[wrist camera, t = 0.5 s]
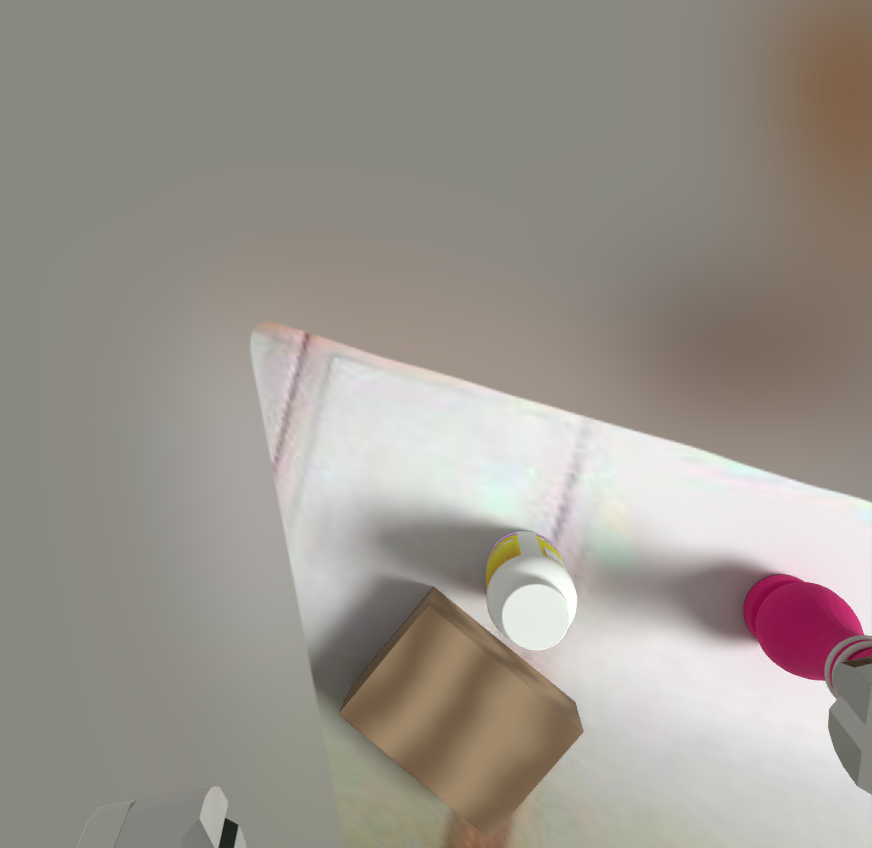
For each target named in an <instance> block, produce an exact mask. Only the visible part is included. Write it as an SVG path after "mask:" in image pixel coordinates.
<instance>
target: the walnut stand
mask: <svg viewBox="0 0 872 848" xmlns="http://www.w3.org/2000/svg"><path fill="white" fill-rule="evenodd" d="M339 715H340V716H341V717H342V718H344V719H345V720H346V721H347V722H348V723H350V724H351V725H352V726H353V727H354V728H356V729H357V730H358V731H359V732H360V733H362V734H363V735H364V736H365V737H366V738H368V739H369V740H370V741H371V742H372V743H374V744H375V745H376V746H377V747H379V748H380V749H381V750H382V751H383V752H385V753H386V754H387V755H388V756H389V757H391V758H392V759H393V760H394V761H395V762H397V763H398V764H399V765H400V766H401V767H403V768H404V769H405V770H406V771H407V772H409V773H410V774H411V775H412V776H413V777H415V778H416V779H417V780H418V781H420V782H421V783H422V784H423V785H424V786H426V787H427V788H428V789H429V790H430V791H432V792H433V793H434V794H435V795H436V796H438V797H439V798H440V799H441V800H442V801H444V802H445V803H446V804H447V805H448V806H450V807H451V808H452V809H453V810H454V811H456V812H457V813H458V814H459V815H461V816H462V817H463V818H464V819H465V820H467V821H468V822H469V823H470V824H471V825H473V826H474V827H475V828H476V829H477V830H479V831H480V832H481V833H482V834H483V835H485V836H486V837H487V838H488V839H489V840H490V838H491V837H492V836H493V835H494V834H495V833H496V832H497V830H498V829H499V828H500V827H501V826H502V825H503V823H504V822H505V821H506V820H507V819H508V818H509V817H510V815H511V814H512V813H513V812H514V811H515V810H516V809H517V807H518V806H519V805H520V804H521V803H522V802H523V801H524V799H525V798H526V797H527V796H528V795H529V794H530V793H531V791H532V790H533V789H534V788H535V787H536V786H537V785H538V783H539V782H540V781H541V780H542V779H543V778H544V777H545V775H546V774H547V773H548V772H549V771H550V770H551V769H552V767H553V766H554V765H555V764H556V763H557V762H558V760H559V759H560V758H561V757H562V756H563V755H564V754H565V752H566V751H567V750H568V749H569V748H570V747H571V746H572V744H573V743H574V742H575V741H576V740H577V739H578V738H579V736H580V735H581V734H582V733H583V728H582V724H581V721H580V717H579V714H578V710H577V707H576V703H575V702H574V701H573V700H572V699H571V698H570V697H568V696H567V695H566V694H565V693H563V692H562V691H561V690H560V689H559V688H557V687H556V686H555V685H554V684H552V683H551V682H550V681H549V680H547V679H546V678H545V677H544V676H543V675H541V674H540V673H539V672H538V671H536V670H535V669H534V668H533V667H532V666H530V665H529V664H528V663H527V662H525V661H524V660H523V659H522V658H521V657H519V656H518V655H517V654H516V653H514V652H513V651H512V650H511V649H510V648H508V647H507V646H506V645H505V644H503V643H502V642H501V641H500V640H498V639H497V638H496V637H495V636H494V635H492V634H491V633H490V632H489V631H487V630H486V629H485V628H484V627H483V626H481V625H480V624H479V623H478V622H476V621H475V620H474V619H473V618H472V617H470V616H469V615H468V614H467V613H465V612H464V611H463V610H462V609H460V608H459V607H458V606H457V605H456V604H454V603H453V602H452V601H451V600H449V599H448V598H447V597H446V596H445V595H443V594H442V593H441V592H440V591H438V590H437V589H436V588H435V587H433V588H432V589H431V591H430V592H429V593H428V594H427V596H426V597H425V598H424V599H423V600H422V602H421V603H420V604H419V605H418V606H417V608H416V609H415V610H414V611H413V613H412V614H411V615H410V616H409V617H408V619H407V620H406V621H405V622H404V623H403V625H402V626H401V627H400V628H399V630H398V631H397V632H396V633H395V634H394V636H393V637H392V638H391V639H390V640H389V642H388V643H387V644H386V645H385V647H384V648H383V649H382V650H381V651H380V653H379V654H378V655H377V656H376V657H375V659H374V660H373V661H372V662H371V664H370V665H369V666H368V667H367V668H366V670H365V671H364V672H363V673H362V674H361V676H360V677H359V678H358V679H357V681H356V682H355V683H354V684H353V685H352V687H351V688H350V691H349V693H348V695H347V697H346V699H345V701H344V703H343V706H342V708H341V710H340V712H339Z"/></svg>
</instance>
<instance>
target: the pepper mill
mask: <svg viewBox="0 0 872 848" xmlns="http://www.w3.org/2000/svg"><path fill="white" fill-rule="evenodd" d="M744 619H745V622H746V624H747V627H748V629H749V630H750V632H751V633H752V634H753V635H754V636H755V637H756V638H757V639H758V641H759V643H760V645H761V647H762V649H763V651H764V652H765V654H766V655H767V656H768V657H769V658H770V659H771V660H772V661H773V662H774V663H776V664H777V665H778V666H780V667H781V668H783V669H784V670H786V671H787V672H790V673H792V674H794V675H797V676H800V677H803V678H807V679H811V680H823V681H826V683H827V686H828V688H829V690H830V692H831V693H832V694H833V696H834V697H835V698H836V699H838V698H839V697H840V696H841V695H840V694H839V693H838V691H837V690H836V689H835V688H834V687H833V685H832V678H833V670H834V669H835V668H836V666H837V665H838V664H839V663H840V662H844V661H849V660H854V659H858V658H863V657H868V656H872V636H868V635H864V633H863V630H862V627H861V624H860V622H859V620H858V618H857V616H856V615H855V613H854V612H853V610H852V609H851V607H850V606H849V605H848V604H847V603H846V602H845V601H844V600H843V599H842V598H840V597H839V596H838V595H837V594H836V593H834V592H833V591H831V590H830V589H828V588H826V587H823V586H821V585H818V584H814V583H809V582H804V581H802V580H800V579H799V578H796V577H793V576H790V575H774V576H770V577H767V578H765V579H763V580H761V581H759V582H758V583H757V584H756V585H755V586H754V587H753V588H752V589H751V590H750V591H749V593H748V595H747V597H746V600H745V603H744Z"/></svg>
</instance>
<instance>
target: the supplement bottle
mask: <svg viewBox="0 0 872 848" xmlns="http://www.w3.org/2000/svg"><path fill="white" fill-rule="evenodd" d="M486 598H487V607H488V612H489V615H490V617H491V619H492V621H493V623H494V624H495V626H496V627H497V628H498V630H499V631H500V632H501V633H502V634H504V635H505V636H506V637H508V638H509V639H511V640H512V641H513V642H514V643H515V644H517V645H518V646H520V647H522V648H525V649H528V650H545V649H548V648H550V647H552V646H554V645H556V644H557V643H558V642H559V641H560V640H561V639H562V638H563V637H564V636H565V634H566V632H567V630H568V627H569V626H570V625H571V623H572V621H573V619H574V616H575V613H576V608H577V594H576V589H575V586H574V583H573V581H572V579H571V577H570V575H569V573H568V571H567V568H566V566H565V564H564V562H563V560H562V558H561V556H560V554H559V552H558V550H557V549H556V547H555V546H554V545H553V544H552V543H551V542H550V541H549V540H548V539H547V538H545V537H544V536H542V535H540V534H537V533H534V532H530V531H518V532H513V533H510V534H508V535H506V536H504V537H503V538H501V539H500V540H499V541H498V542H497V543H496V544H495V545H494V546H493V548H492V549H491V551H490V553H489V555H488V558H487V563H486Z"/></svg>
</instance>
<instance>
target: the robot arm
mask: <svg viewBox="0 0 872 848" xmlns="http://www.w3.org/2000/svg"><path fill="white" fill-rule="evenodd" d="M832 685H833V687H834V688H835V689H836V690H837V691H838V693H839V694H840V695H841V696H840V697H839V698H838V699H837V701H836V702H835V703H834V704H833V705H832V706H831V708H830V709H829V722H828V729H829V732H830V736H831V739H832V743H833V746H834V749H835V751H836V753H837V755H838V757H839V759H840V761H841V763H842V765H843V767H844V768H845V770H846V771H847V772H848V774H849V775H850V777H851V778H852V779H853V781H854V782H855V784H856V785H857V786H858V787H860V788H861V789H863V790H865V791H867V792H868V793H870V794H872V656H868V657H863V658H858V659H854V660H849V661H844V662H840V663H839V664H838V665H837V666H836V668H835V669H834V670H833V678H832ZM227 806H228V802H227V799H226V798H225V796H224V794H223V792H222V790H221V788H220V787H219V786H218V787H210V788H204V789H198V790H192V791H186V792H180V793H174V794H168V795H162V796H156V797H150V798H144V799H138V800H133V801H128V802H122V803H116V804H111V805H106V806H100V807H99V808H98V809H97V810H96V811H95V812H94V813H93V815H92V816H91V817H90V818H89V820H88V821H87V823H86V825H85V828H84V830H83V833H82V835H81V837H80V840H79V842H78V844H77V846H76V848H246V843H245V839H244V836H243V833H242V831H241V829H240V827H239V825H238V824H236V823H234V822H232V821H230V820H229V819H227V818H225V815H226V811H227Z"/></svg>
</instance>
